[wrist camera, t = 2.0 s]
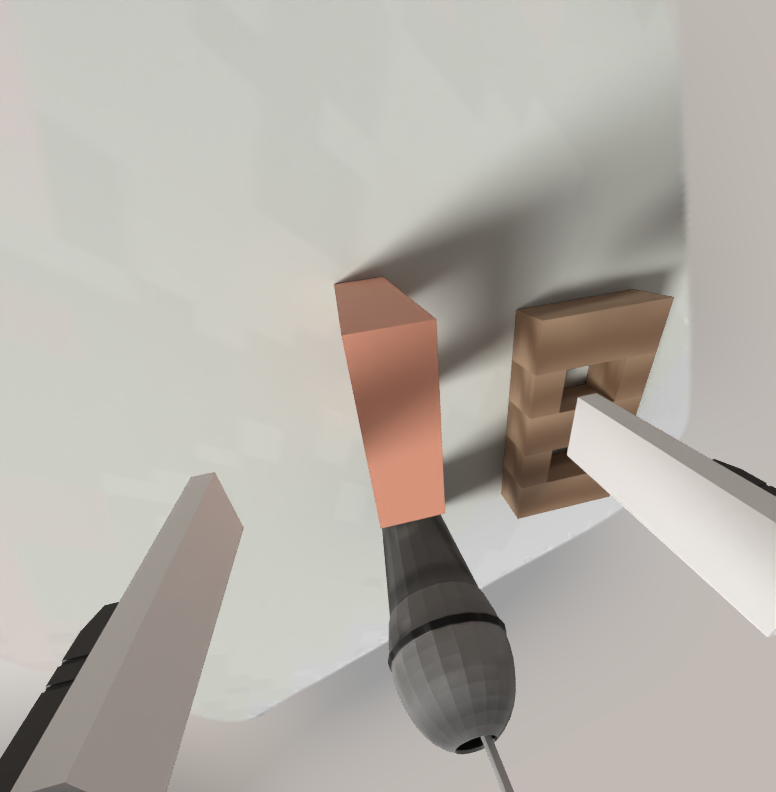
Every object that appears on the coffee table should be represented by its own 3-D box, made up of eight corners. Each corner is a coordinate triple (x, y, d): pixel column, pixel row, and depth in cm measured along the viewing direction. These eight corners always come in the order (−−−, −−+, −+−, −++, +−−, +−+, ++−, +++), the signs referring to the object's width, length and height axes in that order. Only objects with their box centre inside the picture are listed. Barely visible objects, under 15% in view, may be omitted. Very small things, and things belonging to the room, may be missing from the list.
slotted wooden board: (516, 309, 21) (542, 320, 19) (633, 289, 22) (674, 297, 20) (501, 493, 30) (517, 518, 27) (585, 474, 31) (609, 496, 28)
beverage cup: (375, 467, 26) (476, 956, 8) (453, 472, 28) (668, 881, 10) (358, 528, 29) (408, 977, 11) (430, 529, 31) (565, 915, 13)
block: (334, 284, 18) (341, 335, 9) (382, 276, 19) (436, 319, 10) (359, 410, 23) (381, 528, 14) (398, 402, 23) (445, 513, 14)
